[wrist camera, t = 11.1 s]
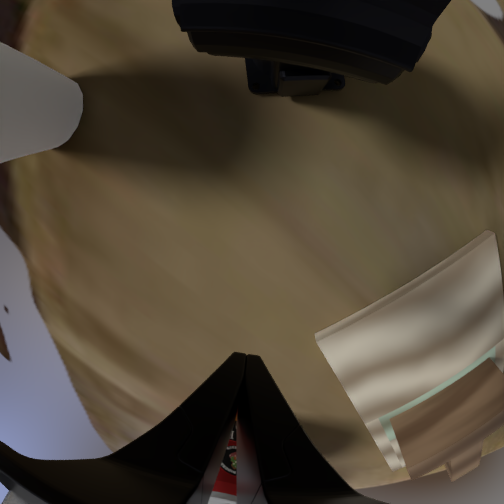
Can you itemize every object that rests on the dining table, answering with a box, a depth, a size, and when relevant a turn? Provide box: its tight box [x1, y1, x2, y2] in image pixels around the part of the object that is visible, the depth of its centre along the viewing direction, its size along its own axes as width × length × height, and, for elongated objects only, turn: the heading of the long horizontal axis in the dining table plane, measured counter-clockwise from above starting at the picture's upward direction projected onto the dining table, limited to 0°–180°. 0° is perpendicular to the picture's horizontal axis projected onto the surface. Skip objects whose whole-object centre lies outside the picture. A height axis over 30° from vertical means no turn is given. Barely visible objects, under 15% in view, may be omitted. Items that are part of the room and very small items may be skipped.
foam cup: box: [0, 42, 83, 163], centre depth 12 cm, size 10×9×13 cm
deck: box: [315, 230, 504, 471], centre depth 23 cm, size 29×18×1 cm, turn 31°
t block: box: [389, 357, 504, 481], centre depth 21 cm, size 13×13×7 cm
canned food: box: [208, 410, 238, 504], centre depth 22 cm, size 8×8×11 cm
